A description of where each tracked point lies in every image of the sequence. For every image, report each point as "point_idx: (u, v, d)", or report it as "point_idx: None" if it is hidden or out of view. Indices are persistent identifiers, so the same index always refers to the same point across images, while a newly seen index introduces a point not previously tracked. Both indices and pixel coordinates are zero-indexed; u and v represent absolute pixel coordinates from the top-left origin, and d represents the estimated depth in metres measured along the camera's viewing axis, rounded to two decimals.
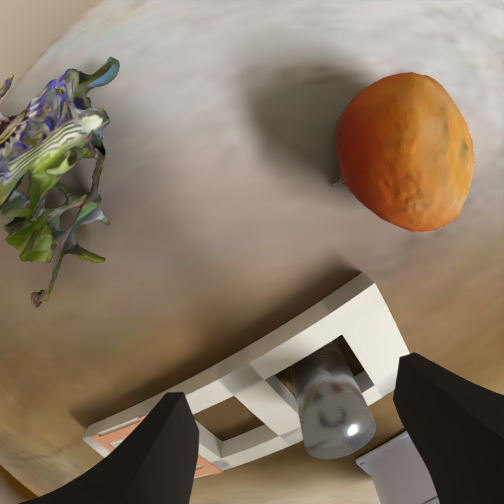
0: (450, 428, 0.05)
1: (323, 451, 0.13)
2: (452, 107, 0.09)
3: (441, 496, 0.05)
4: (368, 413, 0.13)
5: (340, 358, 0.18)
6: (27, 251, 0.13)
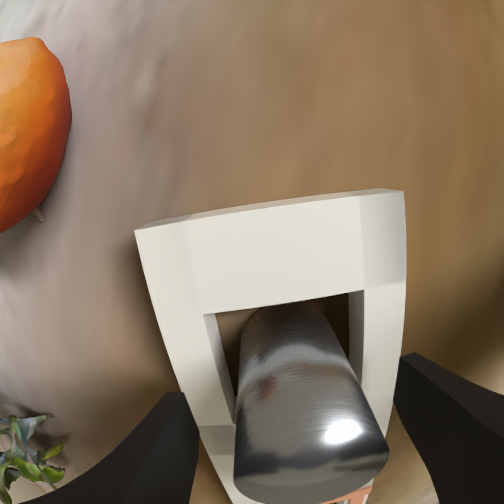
0: (450, 428, 0.05)
1: (326, 493, 0.06)
2: None
3: (441, 496, 0.05)
4: (287, 427, 0.05)
5: (265, 324, 0.10)
6: (42, 477, 0.11)
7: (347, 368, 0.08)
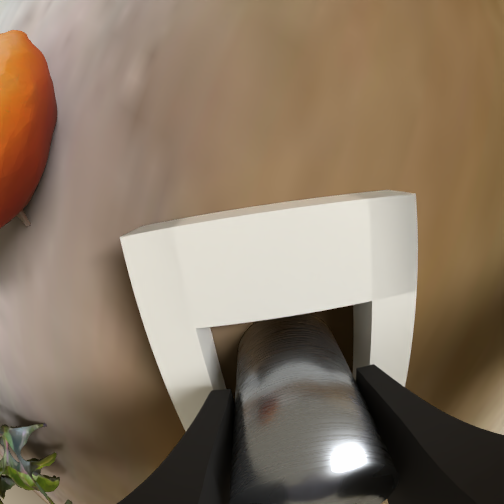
0: (399, 449, 0.05)
1: None
2: None
3: None
4: (289, 462, 0.04)
5: (263, 338, 0.10)
6: (36, 487, 0.10)
7: (354, 389, 0.07)
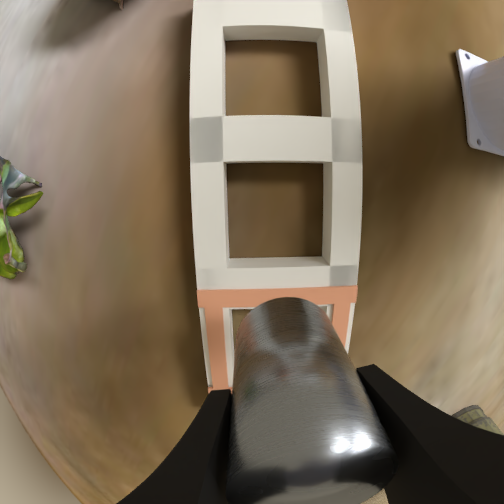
0: (399, 449, 0.05)
1: None
2: None
3: None
4: (286, 441, 0.05)
5: (261, 323, 0.10)
6: None
7: (352, 372, 0.07)
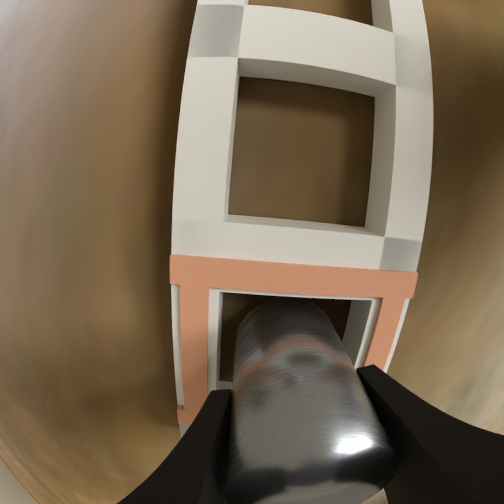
0: (399, 449, 0.05)
1: None
2: None
3: None
4: (286, 441, 0.05)
5: (261, 322, 0.10)
6: None
7: (352, 372, 0.07)
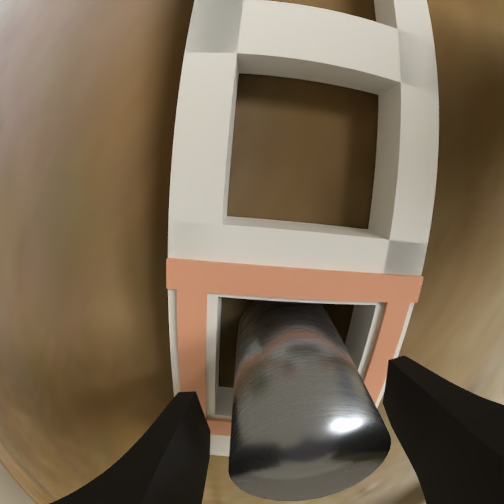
0: (438, 434, 0.05)
1: (325, 486, 0.06)
2: None
3: (430, 502, 0.05)
4: (285, 414, 0.05)
5: (262, 312, 0.10)
6: None
7: (346, 356, 0.08)
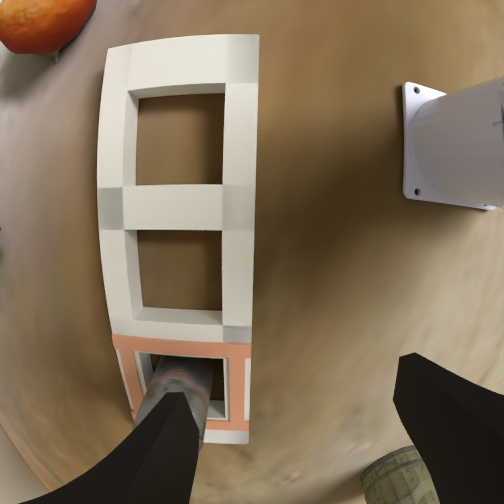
0: (450, 428, 0.05)
1: None
2: None
3: (441, 496, 0.05)
4: (146, 410, 0.13)
5: (164, 359, 0.18)
6: None
7: (192, 387, 0.16)
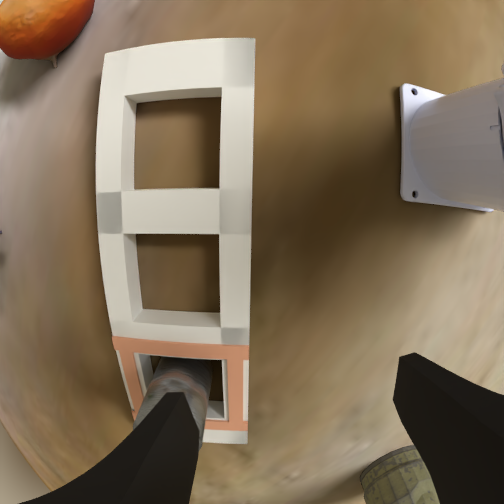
0: (450, 428, 0.05)
1: None
2: None
3: (441, 496, 0.05)
4: (146, 411, 0.13)
5: (163, 360, 0.18)
6: None
7: (191, 388, 0.16)
